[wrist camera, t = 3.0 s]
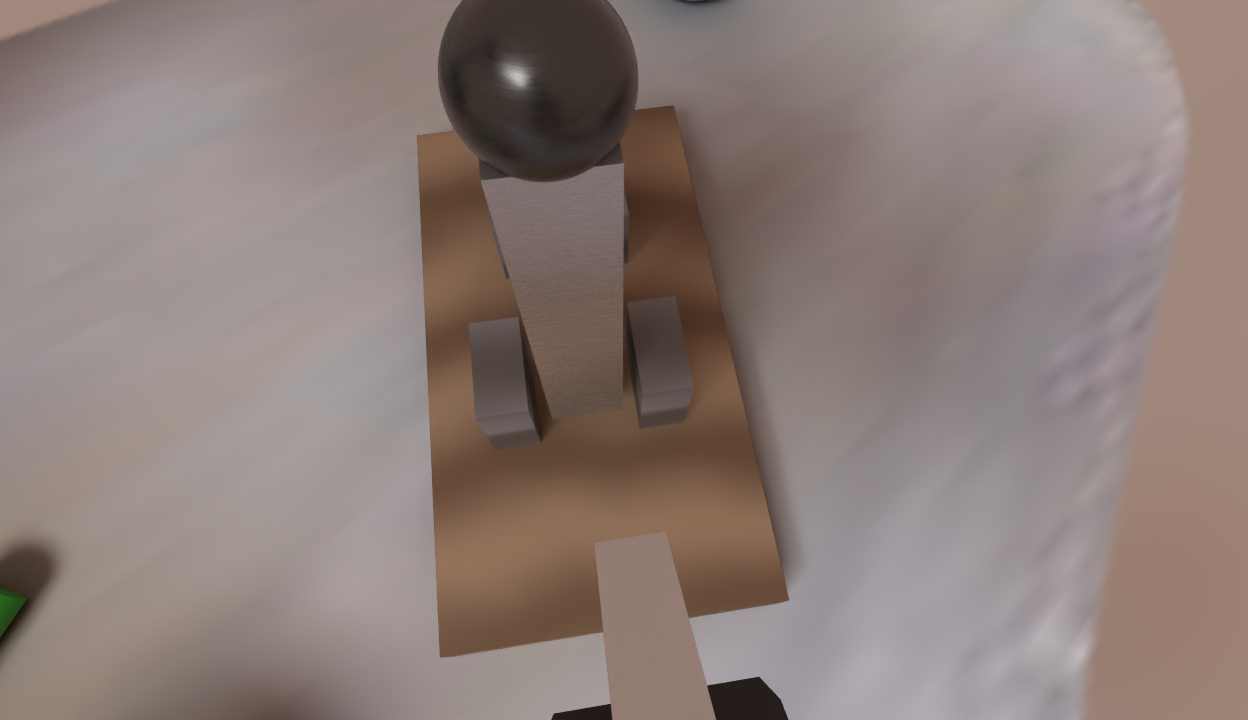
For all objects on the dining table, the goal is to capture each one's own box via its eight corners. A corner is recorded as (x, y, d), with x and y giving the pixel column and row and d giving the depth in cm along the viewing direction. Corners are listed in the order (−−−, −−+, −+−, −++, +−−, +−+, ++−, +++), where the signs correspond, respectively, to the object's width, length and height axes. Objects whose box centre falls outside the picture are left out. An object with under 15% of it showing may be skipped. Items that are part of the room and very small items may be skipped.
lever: (636, 419, 29) (658, 65, 11) (542, 432, 29) (416, 92, 11) (621, 334, 30) (622, -93, 13) (532, 346, 30) (409, -71, 13)
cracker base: (778, 603, 29) (842, 584, 21) (451, 656, 28) (379, 660, 20) (670, 131, 39) (684, -12, 31) (426, 160, 38) (372, 21, 30)
